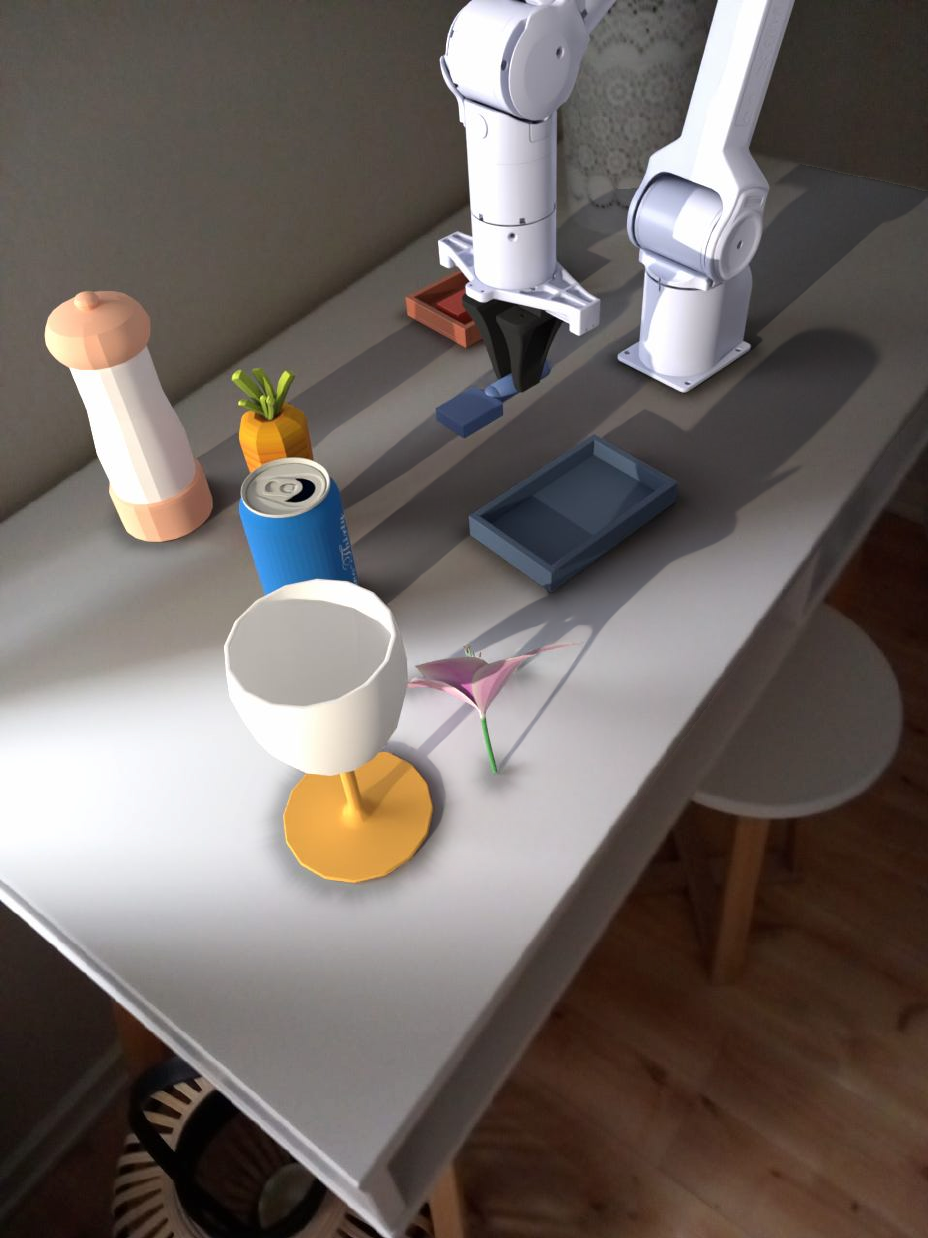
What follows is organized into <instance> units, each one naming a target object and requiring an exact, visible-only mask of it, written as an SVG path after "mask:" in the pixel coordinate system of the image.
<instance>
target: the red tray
mask: <svg viewBox="0 0 928 1238" xmlns="http://www.w3.org/2000/svg"><path fill="white" fill-rule="evenodd" d="M469 282H470V281H469V280H468V278H467V277H466V276H465V275H464V273H463V272H462V271H461V270H460V269H458V270H456V271H454V272H452V273H449V274H448V275H446V276H444V277H442V278H440V279H438V280H437V281H435V282H433V283H431V284H428V285H427V286H424V287H423V288H420V289H419V290H417V291H414V292H413V293H411V294H409V295H406V296H405V304H406V313H407V316H408V317H410V318H411V319H414V320H415V321H417V322H419V323H420V324H422V325H424V326H426V327H428V328H429V329H431V330H432V331H435V332H436V333H439V334H440V335H441V336H443V337H445V338H446V339H449V340H450V341H453V342H454V343H455V344H458V345H459V346H462V347H464V348H465V349H468V348H469V347H471V346H473V345H475V344H476V343H478V342H481V341H482V340H483V338H482V336H481V334H480V332H479V330H478V328H477V326H476V325H475V323H474V321H473V320H472V319H471V320H469V321H467V322H466V323H464V324H462V323H461V322H459V321H457V320H455V319H453V318H451V317H450V316H448V315H446V314H444V313H442V312H440V311H439V310H437V303H438V302H440V301H442V300H444V299H446V298H448V297H450V296H452V295H454V294H456V293H458V292H460V291H461V290H463V289H465V288H466V284H467V283H469Z"/></svg>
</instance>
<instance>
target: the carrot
mask: <svg viewBox="0 0 928 1238" xmlns="http://www.w3.org/2000/svg"><path fill="white" fill-rule="evenodd" d="M250 372H251V373H252V375H253V377H254V378H255V380H256V381H257V383H258V384H259V386H260V387H261V388H262V390H261V389H260V387H259V386H258V385H257V384H256V383H255V381H254V380H253V379H252V378H251V377H250V376H249V375H248V374H247V373H245V371H244V370H242V369H238V370H236V371H235V372H234V373H233V374H232V376H231V381H232V383H234V384H235V385H236V386H237V387H238V388H239V389H240V390H242V391H243V393H245V394H246V396H248V397H249V398H250V399H251V400H249V399H245V398H242V399H240V400H239V401H238V404H237V406H239V407H242V408H244V409H247V410H248V411H245V412H244V413H243V415H242V416H241V419H240V426H239V432H238V439H239V444H240V447H241V450H242V453H243V456H244V459H245V462H246V465H247V468H248V471H249V474H250V473H251V472H253V471H254V470H255V469H257V468H258V467H260V466H262V465H264V464H266V463H268V462H271V461H274V460H278V459H283V458H305V459H309V460H312V461H315V459H314V454H313V446H312V441H311V435H310V430H309V425H308V421H307V420H308V419H307V416H306V414H305V413H304V411H303V410H301V409H299V408H298V407H295V406H294V405H292V404H290V403H288V402H286V401H285V400H286V398H287V395H288V393H289V389H290V388H291V385H292V383H293V382H294V380H295V378H296V374H295V373H294V372H293V371H291V370H284V371H283V373H282V374H281V375H280V377H279V380H278V383H277V387H276V391H275V389H274V386H273V382H271V379H270V378H269V377H268V374H267V373H266V372H265V370H264V369H263V368H262V367H254V368H253V369H252V370H251V371H250ZM263 392H264V393H263Z"/></svg>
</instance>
